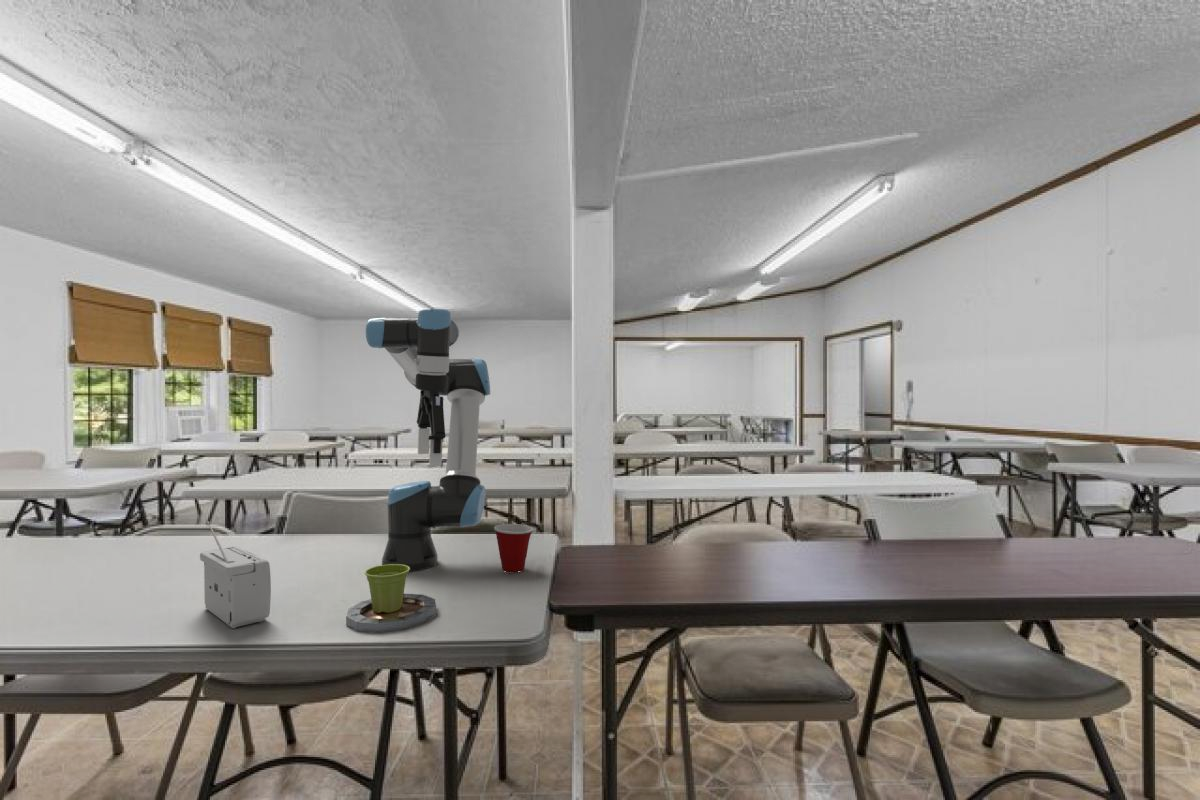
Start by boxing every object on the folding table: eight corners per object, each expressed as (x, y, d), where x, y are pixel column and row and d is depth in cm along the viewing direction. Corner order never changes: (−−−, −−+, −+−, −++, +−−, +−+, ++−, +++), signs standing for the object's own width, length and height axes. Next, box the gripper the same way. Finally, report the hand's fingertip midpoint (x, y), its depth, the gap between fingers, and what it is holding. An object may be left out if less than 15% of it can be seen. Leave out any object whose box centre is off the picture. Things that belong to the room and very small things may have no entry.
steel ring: (351, 607, 132) (350, 599, 133) (433, 597, 138) (433, 590, 138) (343, 637, 115) (343, 628, 115) (438, 625, 121) (438, 616, 121)
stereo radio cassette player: (272, 621, 125) (271, 527, 125) (228, 632, 119) (227, 534, 119) (239, 600, 139) (239, 515, 139) (198, 609, 133) (198, 521, 133)
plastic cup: (533, 575, 156) (533, 530, 156) (492, 576, 154) (492, 531, 154) (534, 564, 166) (533, 521, 166) (495, 565, 165) (495, 523, 165)
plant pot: (395, 598, 136) (395, 561, 136) (418, 607, 130) (418, 568, 130) (356, 610, 129) (356, 570, 129) (379, 619, 123) (378, 578, 123)
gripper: (406, 368, 150) (404, 449, 152) (427, 378, 128) (423, 472, 130) (436, 369, 153) (433, 448, 156) (461, 379, 132) (457, 471, 134)
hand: (429, 459), depth 143 cm, fingers open, 13 cm apart
